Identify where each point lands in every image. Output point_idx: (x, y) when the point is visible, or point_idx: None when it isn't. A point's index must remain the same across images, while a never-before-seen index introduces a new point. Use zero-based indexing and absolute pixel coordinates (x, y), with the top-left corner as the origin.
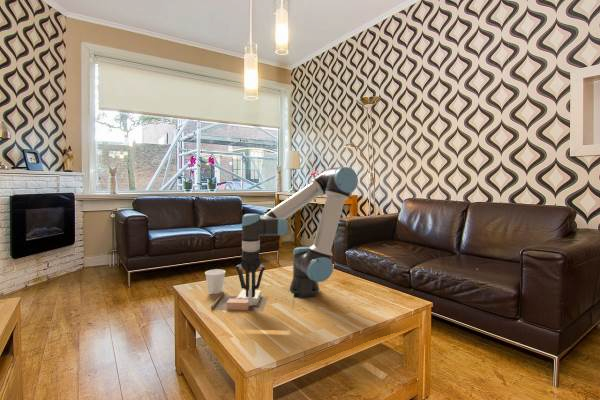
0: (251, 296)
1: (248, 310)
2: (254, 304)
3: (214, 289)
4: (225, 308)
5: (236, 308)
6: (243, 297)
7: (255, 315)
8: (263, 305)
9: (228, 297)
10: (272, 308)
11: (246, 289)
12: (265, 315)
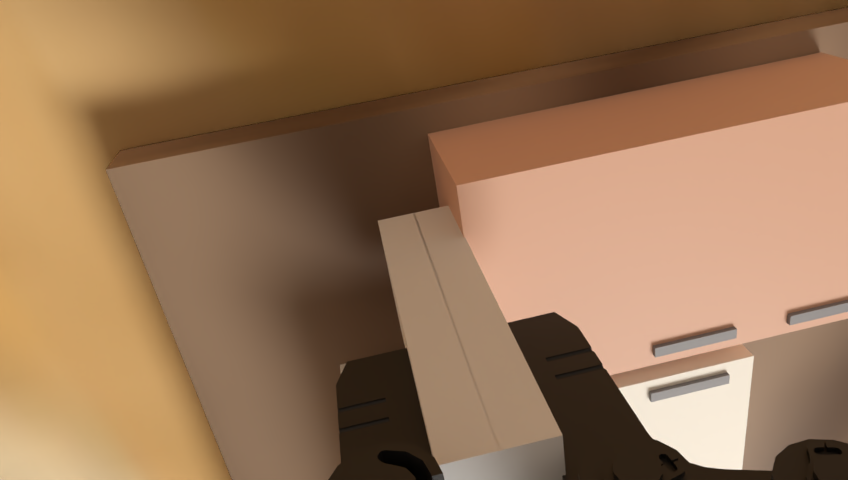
0: (408, 333)
1: (403, 112)
2: None
3: None
4: None
5: (652, 96)
6: None
7: (222, 35)
8: (221, 386)
9: None
10: (72, 392)
11: (643, 448)
12: (24, 85)
